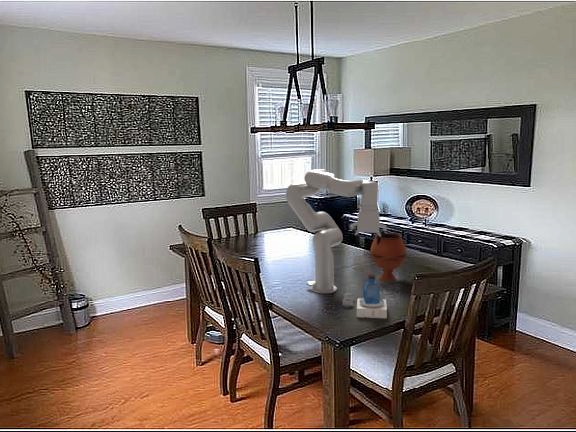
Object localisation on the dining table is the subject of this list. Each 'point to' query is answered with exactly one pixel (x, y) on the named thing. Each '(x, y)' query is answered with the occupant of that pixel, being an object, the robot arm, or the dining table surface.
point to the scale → (371, 310)
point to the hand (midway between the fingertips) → (367, 243)
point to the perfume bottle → (371, 291)
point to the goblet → (388, 254)
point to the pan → (371, 304)
